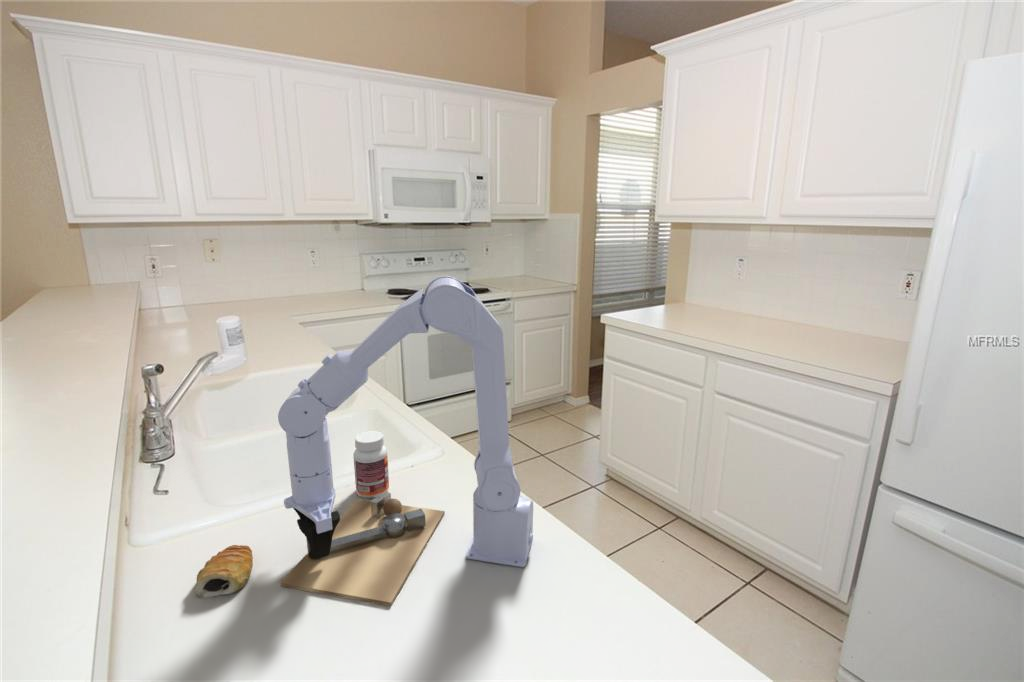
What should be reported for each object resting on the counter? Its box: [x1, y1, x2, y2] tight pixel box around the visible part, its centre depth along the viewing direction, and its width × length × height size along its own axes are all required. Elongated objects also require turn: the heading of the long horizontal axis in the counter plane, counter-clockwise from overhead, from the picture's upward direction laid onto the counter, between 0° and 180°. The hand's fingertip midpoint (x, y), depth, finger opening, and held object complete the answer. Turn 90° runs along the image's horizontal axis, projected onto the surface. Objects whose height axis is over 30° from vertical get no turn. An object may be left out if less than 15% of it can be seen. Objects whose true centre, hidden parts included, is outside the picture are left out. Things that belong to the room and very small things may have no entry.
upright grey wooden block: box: [370, 491, 392, 518], centre depth 88 cm, size 4×1×3 cm, turn 153°
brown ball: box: [383, 498, 403, 516], centre depth 87 cm, size 3×3×3 cm
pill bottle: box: [353, 430, 390, 499], centre depth 95 cm, size 6×6×11 cm
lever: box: [305, 509, 426, 559], centre depth 80 cm, size 18×4×5 cm, turn 118°
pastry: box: [193, 544, 254, 599], centre depth 73 cm, size 9×7×4 cm
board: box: [280, 498, 445, 607], centre depth 80 cm, size 17×22×1 cm
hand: (318, 547), depth 77 cm, fingers open, 4 cm apart
